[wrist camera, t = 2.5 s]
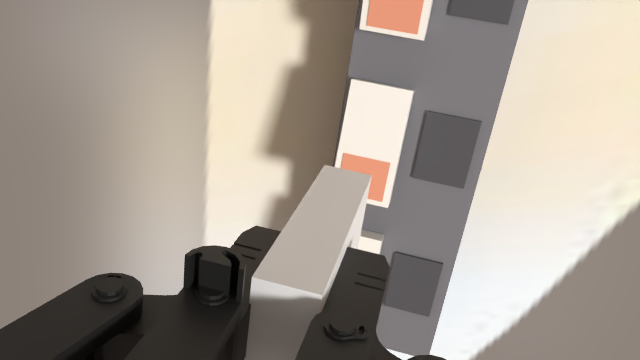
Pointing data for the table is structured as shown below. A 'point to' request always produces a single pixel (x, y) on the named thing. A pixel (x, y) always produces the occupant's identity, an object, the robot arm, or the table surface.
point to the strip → (434, 150)
